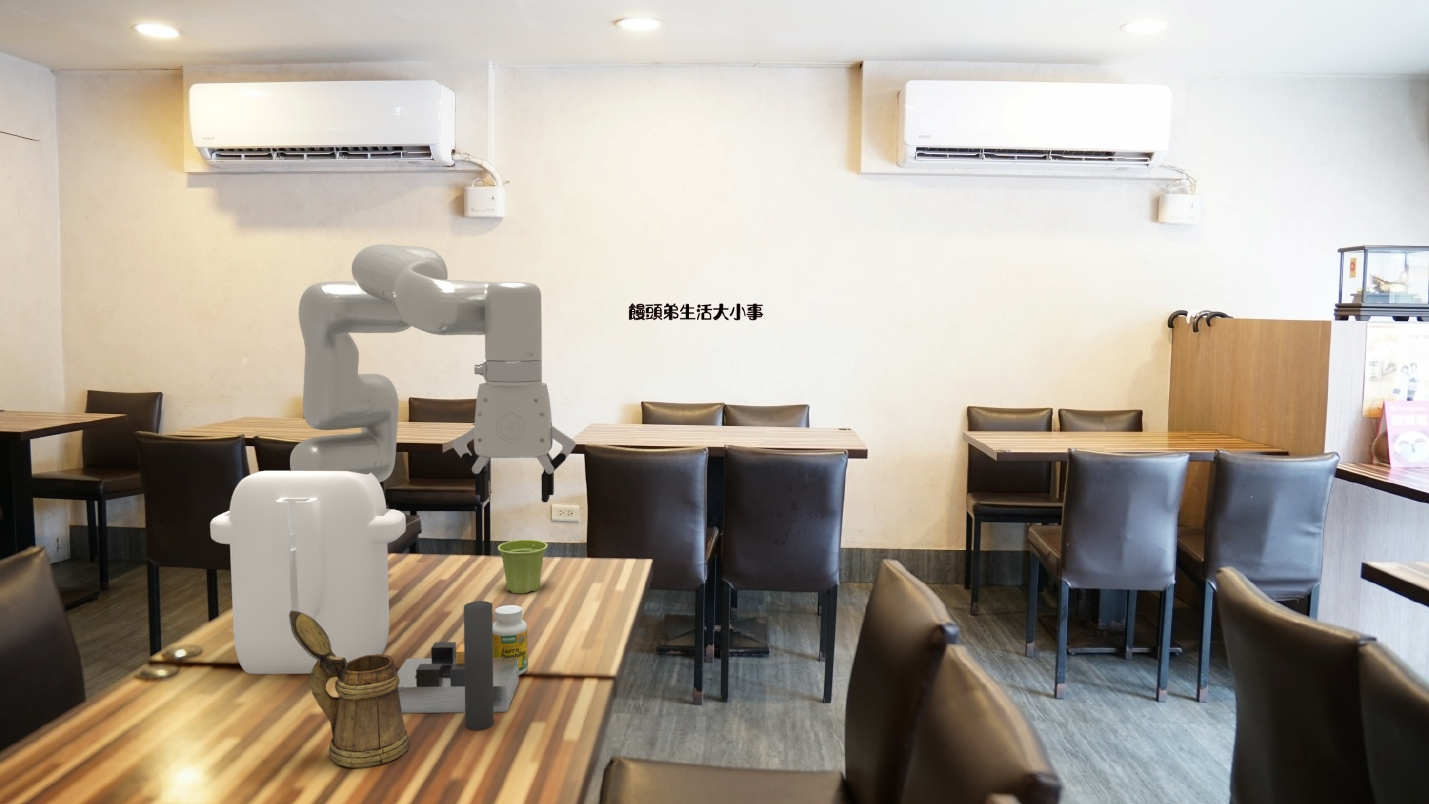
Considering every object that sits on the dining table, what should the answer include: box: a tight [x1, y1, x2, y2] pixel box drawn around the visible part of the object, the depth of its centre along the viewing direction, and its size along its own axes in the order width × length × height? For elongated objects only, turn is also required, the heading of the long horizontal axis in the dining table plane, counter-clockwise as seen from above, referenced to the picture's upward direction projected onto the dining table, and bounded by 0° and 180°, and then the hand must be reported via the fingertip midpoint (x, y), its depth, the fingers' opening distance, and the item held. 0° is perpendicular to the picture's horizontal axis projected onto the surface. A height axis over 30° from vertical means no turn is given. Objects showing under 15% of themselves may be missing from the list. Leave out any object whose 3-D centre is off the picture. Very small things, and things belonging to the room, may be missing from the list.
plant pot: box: [497, 539, 549, 595], centre depth 174 cm, size 9×9×9 cm
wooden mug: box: [289, 610, 410, 769], centre depth 109 cm, size 9×14×18 cm, turn 96°
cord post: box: [463, 600, 495, 731], centre depth 117 cm, size 4×4×16 cm
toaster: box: [209, 470, 407, 675], centre depth 134 cm, size 27×11×30 cm, turn 94°
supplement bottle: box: [493, 604, 529, 676], centre depth 135 cm, size 5×5×10 cm
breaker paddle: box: [456, 643, 464, 664], centre depth 125 cm, size 3×3×3 cm
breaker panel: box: [397, 641, 520, 714], centre depth 126 cm, size 16×10×6 cm, turn 93°
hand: (515, 499), depth 124 cm, fingers open, 7 cm apart
